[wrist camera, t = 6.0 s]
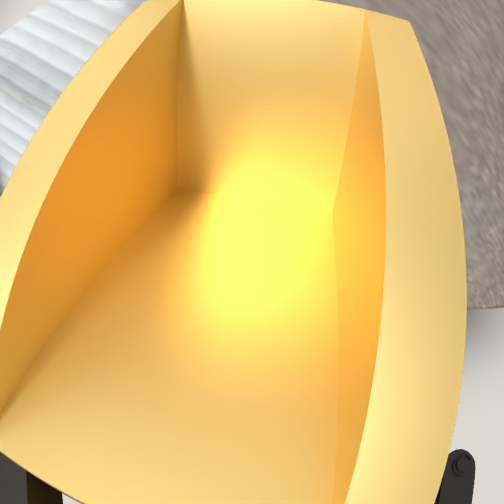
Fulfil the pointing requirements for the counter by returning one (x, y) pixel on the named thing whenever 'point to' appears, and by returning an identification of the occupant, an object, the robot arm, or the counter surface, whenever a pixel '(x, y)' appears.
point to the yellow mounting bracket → (236, 265)
